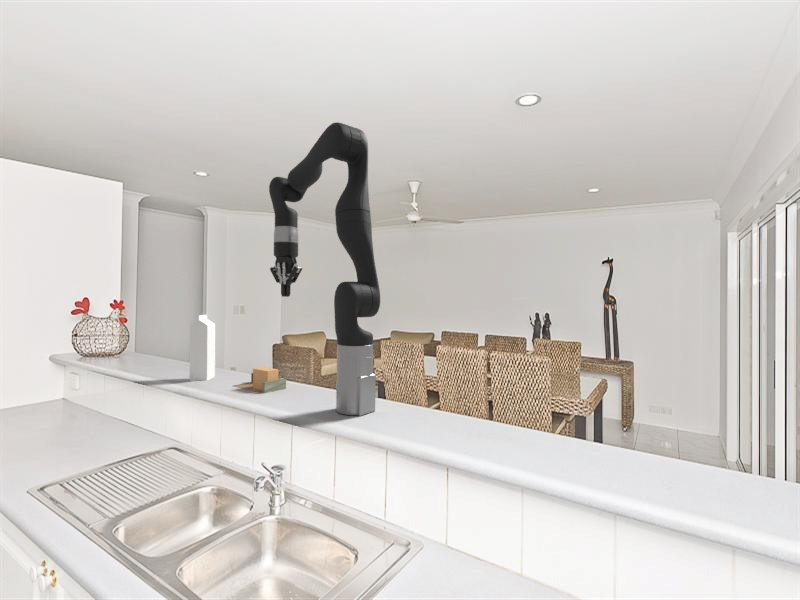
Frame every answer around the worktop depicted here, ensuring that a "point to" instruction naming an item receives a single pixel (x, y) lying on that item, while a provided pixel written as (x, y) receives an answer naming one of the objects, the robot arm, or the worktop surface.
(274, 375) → the block
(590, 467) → the worktop surface
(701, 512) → the worktop surface
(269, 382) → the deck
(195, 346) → the milk
